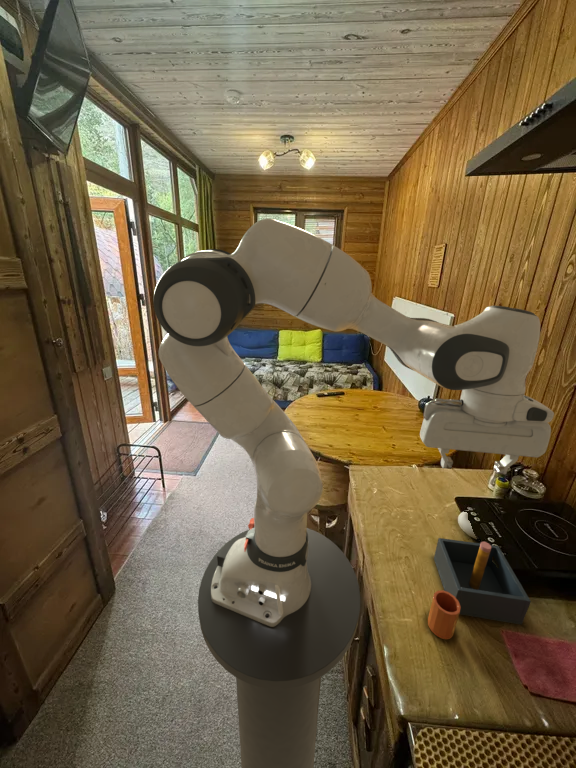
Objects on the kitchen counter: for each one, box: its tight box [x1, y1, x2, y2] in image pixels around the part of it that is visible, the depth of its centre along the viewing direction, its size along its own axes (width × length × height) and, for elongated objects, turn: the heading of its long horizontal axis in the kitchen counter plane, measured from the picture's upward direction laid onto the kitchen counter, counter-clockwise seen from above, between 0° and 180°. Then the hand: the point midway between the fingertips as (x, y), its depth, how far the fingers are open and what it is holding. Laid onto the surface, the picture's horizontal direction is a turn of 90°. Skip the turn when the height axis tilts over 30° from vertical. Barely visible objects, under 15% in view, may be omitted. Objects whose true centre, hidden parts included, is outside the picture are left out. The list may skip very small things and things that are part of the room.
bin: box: [433, 537, 531, 626], centre depth 69 cm, size 14×14×7 cm
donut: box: [457, 511, 477, 540], centre depth 87 cm, size 10×4×10 cm
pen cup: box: [427, 589, 461, 640], centre depth 62 cm, size 5×5×7 cm
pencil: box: [469, 541, 492, 590], centre depth 68 cm, size 2×2×12 cm
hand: (472, 469), depth 58 cm, fingers open, 8 cm apart
